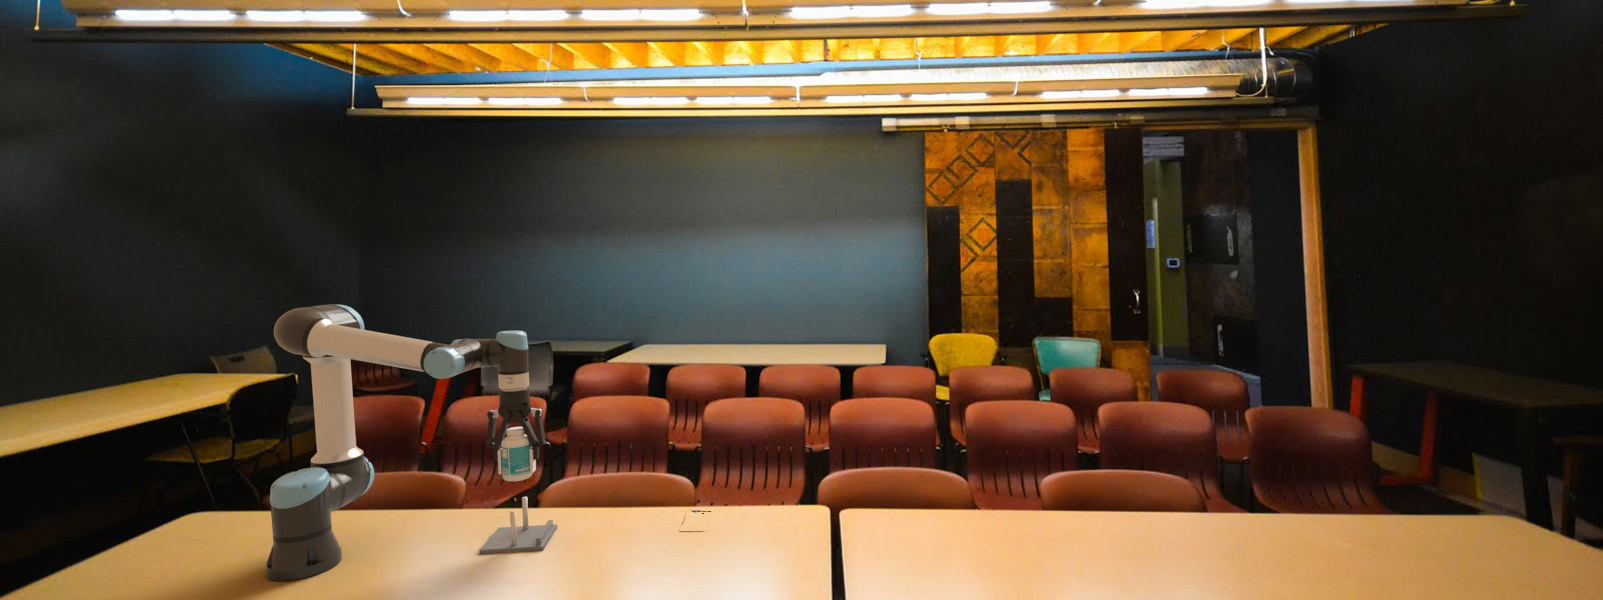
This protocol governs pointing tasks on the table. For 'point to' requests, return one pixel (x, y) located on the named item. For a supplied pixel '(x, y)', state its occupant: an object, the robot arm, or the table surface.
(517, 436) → the pill bottle
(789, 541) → the table surface
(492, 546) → the grey peg board
